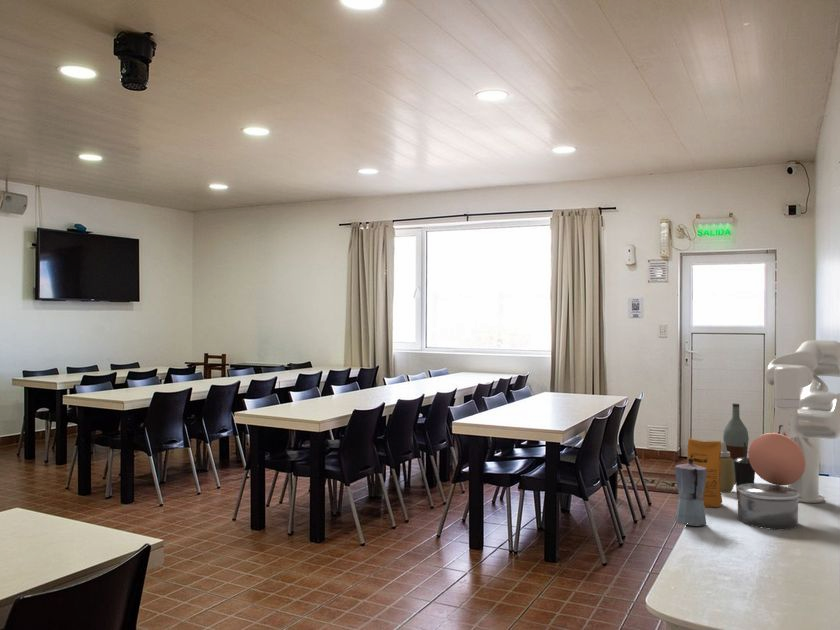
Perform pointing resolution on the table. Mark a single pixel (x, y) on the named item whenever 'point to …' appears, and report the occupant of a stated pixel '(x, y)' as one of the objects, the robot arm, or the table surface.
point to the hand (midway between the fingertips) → (786, 459)
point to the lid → (777, 459)
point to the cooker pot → (768, 505)
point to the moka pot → (690, 494)
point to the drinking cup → (743, 470)
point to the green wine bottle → (735, 435)
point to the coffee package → (708, 468)
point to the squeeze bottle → (726, 470)
